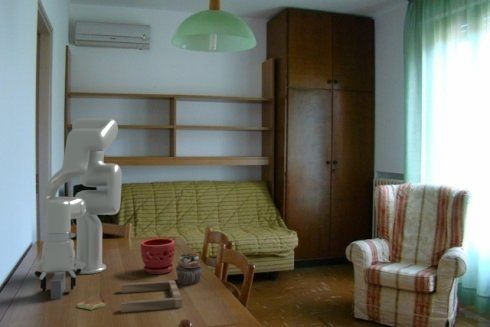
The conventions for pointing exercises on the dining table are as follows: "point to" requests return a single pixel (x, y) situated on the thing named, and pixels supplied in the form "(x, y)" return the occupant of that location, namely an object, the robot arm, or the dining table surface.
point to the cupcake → (188, 269)
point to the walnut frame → (153, 303)
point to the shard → (93, 302)
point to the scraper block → (58, 285)
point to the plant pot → (158, 255)
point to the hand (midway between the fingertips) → (58, 289)
